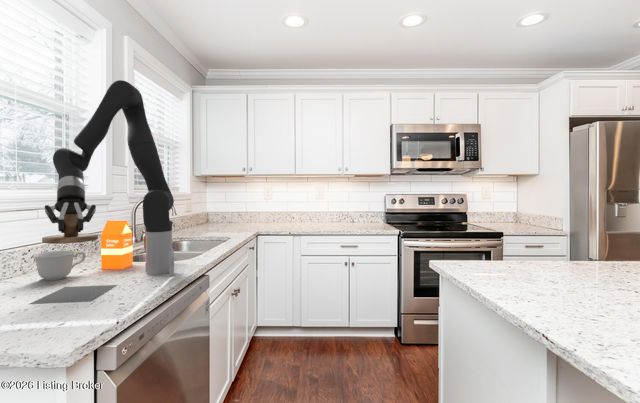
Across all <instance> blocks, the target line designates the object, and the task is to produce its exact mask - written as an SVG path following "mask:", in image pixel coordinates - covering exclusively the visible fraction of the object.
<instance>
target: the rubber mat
mask: <svg viewBox="0 0 640 403" xmlns="http://www.w3.org/2000/svg"><path fill="white" fill-rule="evenodd" d="M117 286H118V284H107V285H106V284H105V285H103V284H102V285H82V286H81V285H78V286H76V285H75V286H64V287H63V288H60V289H57V290H56V291H55V290H54V292H51V293H50V294H47V295H45V296H43V297H40V298H38V299H36V300H34V301H32V302H30V303H29V305H40V304H60V303H62V304H64V303H86V302H87V303H88V302H93V301H95V300H97V299H98V298H99V297H101V296H103V295H104V294H106V293H107V292H109V291H112V289H114V288H115V287H117Z"/></svg>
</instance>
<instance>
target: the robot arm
mask: <svg viewBox="0 0 640 403" xmlns="http://www.w3.org/2000/svg"><path fill="white" fill-rule="evenodd" d="M121 110H122V112H123V114H124V118H125V121H126V124H127V139H126V141H127V145H128V146H127V147H128V150H129V152H130V156H131V159H132V161H133V163H134V164H135V166H136V168H137V170H138V172H139V173H140V174H141V176H142V178H143V179H144V182H145V184H146V188H147V191H148V192H147V193H146V194H144V196H143V198H142V199H143V200H142V217H143V220H142V221H143V225H144V226H145V236H146V253H145V274H146V276H162V275H170V274H173V273H174V272H175V250H174V249H175V248H173V224H171V222H170V221H171V220H170V211H171V209H173V207H174V202H175V200H174V197H173V194H172V191H171V190H170V188H169V185H168V183H167V180H166V178H165V175H164V170H163V167H162V163H161V159H160V156H159V151H158V148H157V145H156V141H155V140H154V136H153V134H152V130H151V128H150V125H149V123H148V122H149V121H148V119H147V116H146V110H145V104H144V100H143V96H142V94H141V92H140V90H139V89H138V88H136V87H135V86H134V85H133V84H131V83H130V82H128V81H126V80H120V79H119V80H115V81H113V82H112V83H111V84H110V85H109V87H108V88H107V90H106V92H105V93H104V96H103V97H102V99H101V101H100V103H99V104H98V106H97V108H96V109H95V111H94V113H93V114H92V116H91V118H90V119H89V120H88V122H87V123H86V124H85V125H84V127H83V128H82V129H81V130H80V131H79V133H78V134H77V135H76V136H75V138H74V139H73V144H74V145H76V147H78V148H80V150H82V151H81V153H78V152H77V151H74V150H72V149H70V148H67V147H60V148H58V149H56V150H55V151H54V152H53V155H52V162H53V165H54V168H55V170H56V172H57V175H58V183H57V188H56V189H57V190H56V202H55V203H54V205H51V206H50V205H49V204H45V206H44V212H45V215H46V216H47V218H48V219H49V221H50V222H51V223H52V224H57V225H58V227H57V228H58V232H60V234H64V215H66V214H78V233H81V231H84V223H90V222H91V221H92V218H93V217H94V215H95V213H96V210H97V209H96V208H97V207H96V206H97V205H96V204H92V205H89V204H87V203H86V188H85V183H84V182H85V180H84V179H85V178H84V173H83V172H85V171H86V170H87V169H88V167H89V165H90V162H91V160H92V156H93V154H94V153H95V150H96V149H97V148H98V147H99V145H101V143H102V142H103V141H104V139H105V138H106V136H107V135H108V133H109V130H110V128H111V124H112V121H113V120H114V118H115V117H116V115H117V114H118V112H120V111H121ZM55 210H56V212H59V213H60V214H59V216H56V214H55ZM86 210H87V213H86V215H84V216H83V212H84V211H86Z"/></svg>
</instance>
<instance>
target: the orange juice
mask: <svg viewBox="0 0 640 403" xmlns="http://www.w3.org/2000/svg"><path fill="white" fill-rule="evenodd" d="M102 229H103V230H102V232H101V234H100V256H101V258H100V259H101V262H100V263H101V265H100V266H101V268H100V269H101V270H124V269H126V268H128V267H131V266H133V265H134V264H133V262H134V261H133V231H132V228H131V227H130V224H129V223H128V220H106V222H105V225H104V227H103V228H102Z"/></svg>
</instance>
